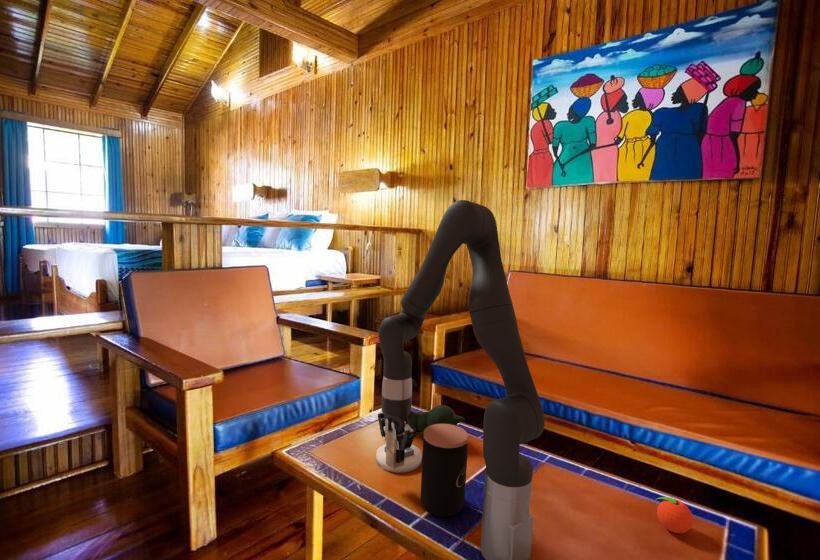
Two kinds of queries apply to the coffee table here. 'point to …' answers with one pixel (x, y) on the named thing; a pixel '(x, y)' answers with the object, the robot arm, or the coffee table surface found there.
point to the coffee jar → (444, 469)
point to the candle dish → (411, 461)
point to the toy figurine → (433, 417)
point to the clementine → (674, 515)
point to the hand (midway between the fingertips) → (395, 458)
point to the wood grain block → (392, 451)
